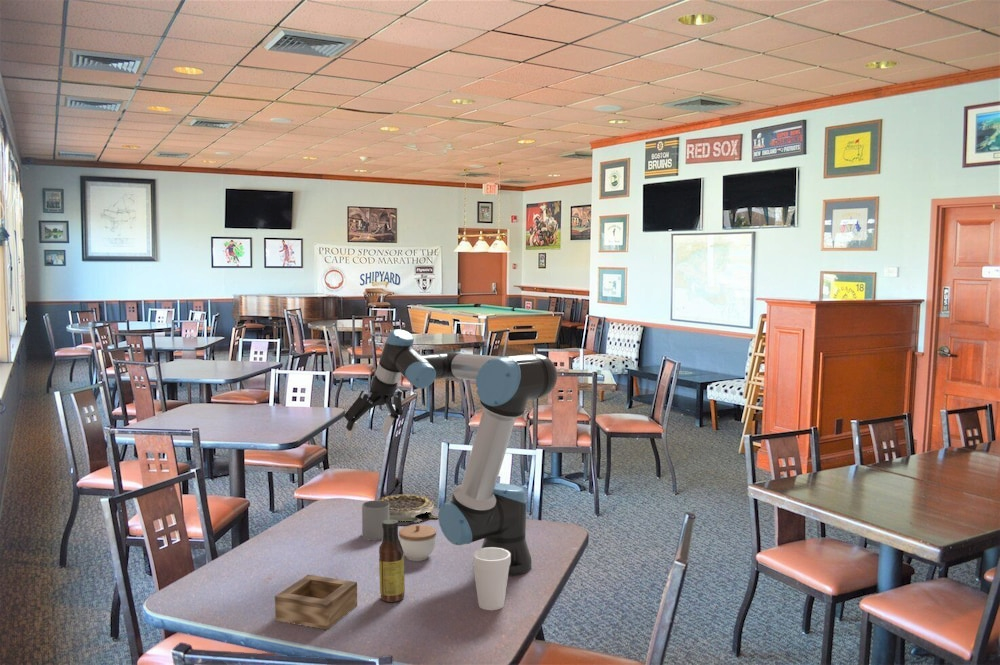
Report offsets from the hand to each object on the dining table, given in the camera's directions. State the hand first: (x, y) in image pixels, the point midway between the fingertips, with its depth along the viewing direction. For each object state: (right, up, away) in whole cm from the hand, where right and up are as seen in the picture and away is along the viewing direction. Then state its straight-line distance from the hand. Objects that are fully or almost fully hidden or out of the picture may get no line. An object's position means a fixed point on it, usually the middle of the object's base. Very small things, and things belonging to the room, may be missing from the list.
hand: (366, 435), depth 240 cm
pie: (+8, -31, +27) cm, 41 cm away
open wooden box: (-3, -36, -52) cm, 63 cm away
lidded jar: (+17, -34, -14) cm, 40 cm away
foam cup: (+39, -36, -46) cm, 71 cm away
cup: (+2, -32, +3) cm, 32 cm away
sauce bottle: (+14, -36, -43) cm, 57 cm away
